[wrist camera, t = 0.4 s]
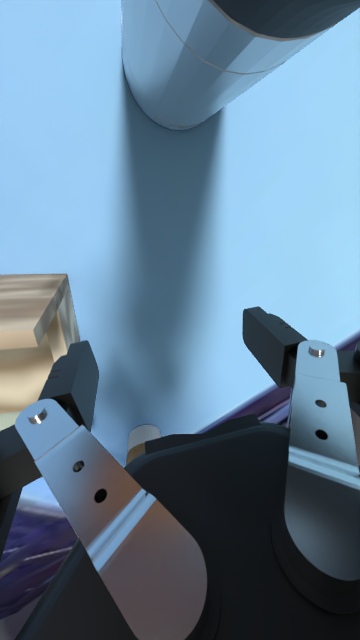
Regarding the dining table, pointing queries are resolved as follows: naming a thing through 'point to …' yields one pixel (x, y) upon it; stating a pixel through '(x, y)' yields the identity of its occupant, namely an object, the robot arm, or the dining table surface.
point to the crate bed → (32, 334)
